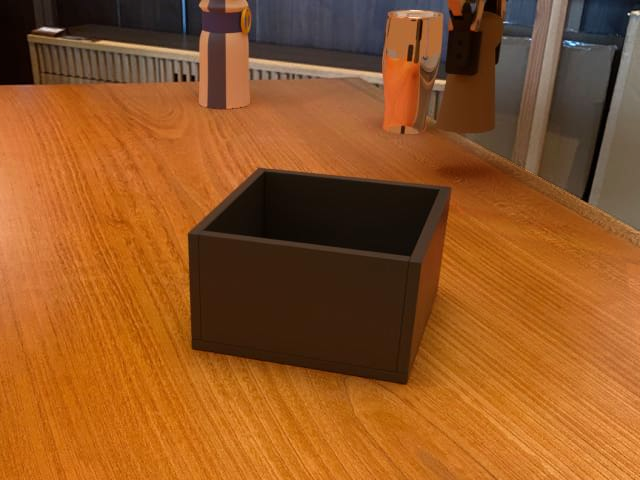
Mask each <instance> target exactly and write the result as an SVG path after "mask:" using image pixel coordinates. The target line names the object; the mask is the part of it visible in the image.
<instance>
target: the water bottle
mask: <svg viewBox="0 0 640 480" xmlns="http://www.w3.org/2000/svg"><path fill="white" fill-rule="evenodd" d="M198 7H199V8H200V9H201V24H202V25H201V26H202V30H201V31H200V32H201V33H200V36H199V46H198V47H199V49H198V50H199V52H198V54H199V55H198V56H199V81H198V83H199V85H198V105H199V106H201V107H204V108H209V109H217V110H230V109H231V110H232V108H233V109H239V108H240V107H241V108H245V107H247V106H249V105H250V104H251V94H250V92H251V91H250V50H249V49H250V48H249V47H250V44H249V43H250V42H249V35H248V34H249V32H250V30H251V26H252V12H251V9H250V7H249V3H248V1H247V0H200V2H199V3H198ZM241 108H240V109H241Z"/></svg>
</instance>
